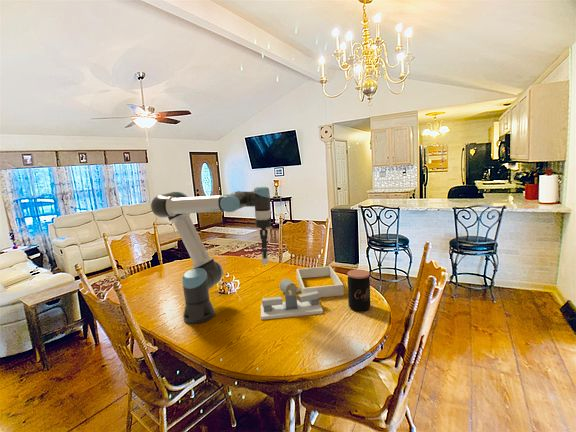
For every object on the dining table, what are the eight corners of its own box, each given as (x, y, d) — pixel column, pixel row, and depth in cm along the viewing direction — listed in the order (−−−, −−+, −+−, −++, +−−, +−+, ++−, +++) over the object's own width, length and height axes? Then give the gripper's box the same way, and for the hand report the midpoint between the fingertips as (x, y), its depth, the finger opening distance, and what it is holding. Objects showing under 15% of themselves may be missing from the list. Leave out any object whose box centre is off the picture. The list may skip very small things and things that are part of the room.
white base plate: (261, 319, 151) (259, 306, 150) (261, 306, 165) (260, 294, 164) (322, 313, 153) (322, 299, 152) (317, 301, 167) (317, 288, 166)
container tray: (303, 299, 171) (303, 288, 170) (297, 278, 202) (296, 269, 201) (343, 295, 172) (343, 284, 171) (330, 274, 204) (330, 265, 203)
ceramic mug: (286, 297, 174) (286, 284, 173) (279, 292, 181) (278, 280, 180) (302, 292, 179) (302, 279, 178) (295, 288, 186) (294, 275, 185)
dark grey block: (297, 308, 156) (296, 293, 155) (286, 309, 156) (285, 294, 155) (296, 303, 162) (295, 289, 160) (285, 304, 161) (284, 290, 160)
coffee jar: (354, 314, 150) (353, 278, 147) (344, 304, 161) (343, 271, 158) (374, 310, 153) (373, 274, 150) (363, 301, 163) (362, 267, 160)
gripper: (271, 223, 144) (273, 267, 147) (270, 213, 168) (271, 252, 172) (254, 223, 143) (257, 268, 147) (256, 214, 167) (257, 253, 171)
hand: (265, 259), depth 159 cm, fingers open, 13 cm apart
